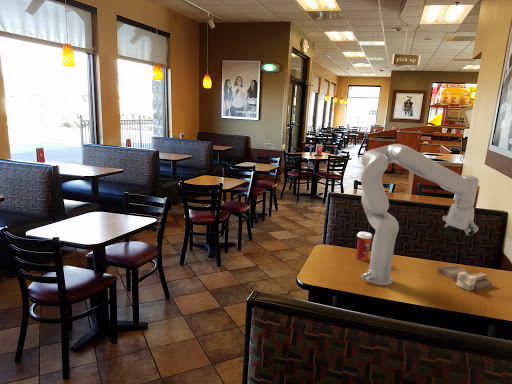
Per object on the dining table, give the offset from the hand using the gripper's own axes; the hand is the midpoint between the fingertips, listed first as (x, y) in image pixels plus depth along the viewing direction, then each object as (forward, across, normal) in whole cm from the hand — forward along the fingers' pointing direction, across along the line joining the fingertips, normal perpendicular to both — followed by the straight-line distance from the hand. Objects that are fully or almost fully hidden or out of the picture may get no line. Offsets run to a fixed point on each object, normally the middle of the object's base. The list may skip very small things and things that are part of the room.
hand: (456, 239), depth 169 cm
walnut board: (+21, +1, +10) cm, 23 cm away
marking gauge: (+20, +7, +8) cm, 23 cm away
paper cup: (+22, -35, -21) cm, 47 cm away
